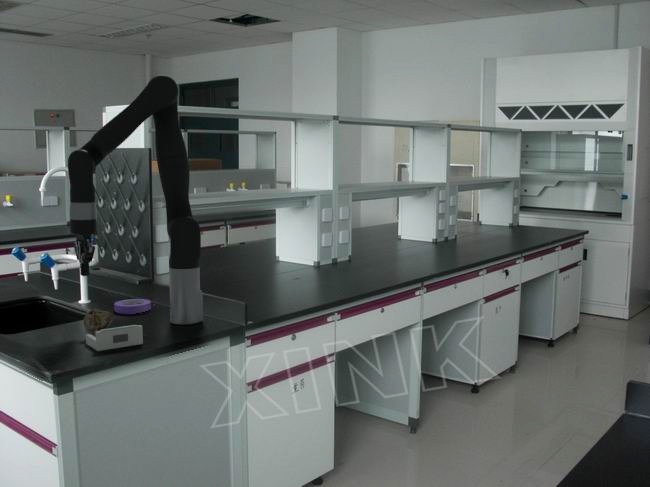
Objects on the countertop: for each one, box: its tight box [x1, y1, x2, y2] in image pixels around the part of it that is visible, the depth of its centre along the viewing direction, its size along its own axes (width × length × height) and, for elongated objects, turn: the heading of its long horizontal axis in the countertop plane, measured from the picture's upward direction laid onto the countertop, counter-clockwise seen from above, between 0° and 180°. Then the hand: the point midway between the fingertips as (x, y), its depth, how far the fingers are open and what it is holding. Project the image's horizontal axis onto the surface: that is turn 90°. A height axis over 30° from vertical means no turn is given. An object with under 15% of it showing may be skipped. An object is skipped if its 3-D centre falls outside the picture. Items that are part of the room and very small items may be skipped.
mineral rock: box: [83, 307, 115, 337], centre depth 194 cm, size 11×4×8 cm, turn 154°
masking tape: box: [113, 298, 152, 315], centre depth 224 cm, size 12×12×4 cm
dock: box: [85, 324, 144, 352], centre depth 185 cm, size 12×10×5 cm
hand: (84, 275), depth 201 cm, fingers closed
